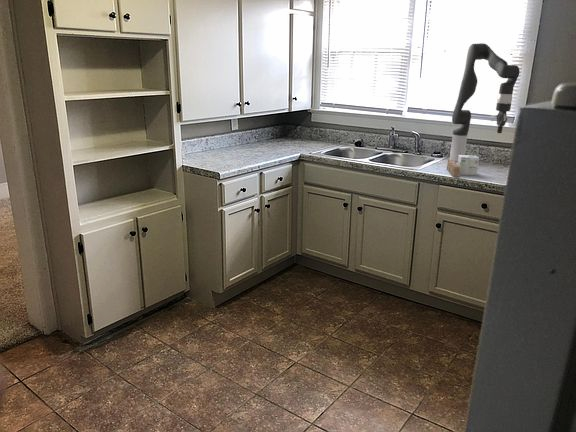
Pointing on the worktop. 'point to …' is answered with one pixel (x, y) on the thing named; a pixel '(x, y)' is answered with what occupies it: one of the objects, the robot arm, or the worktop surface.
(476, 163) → the light bulb box
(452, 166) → the orange brown stepped block
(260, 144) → the worktop surface
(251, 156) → the worktop surface
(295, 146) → the worktop surface
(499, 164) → the worktop surface
